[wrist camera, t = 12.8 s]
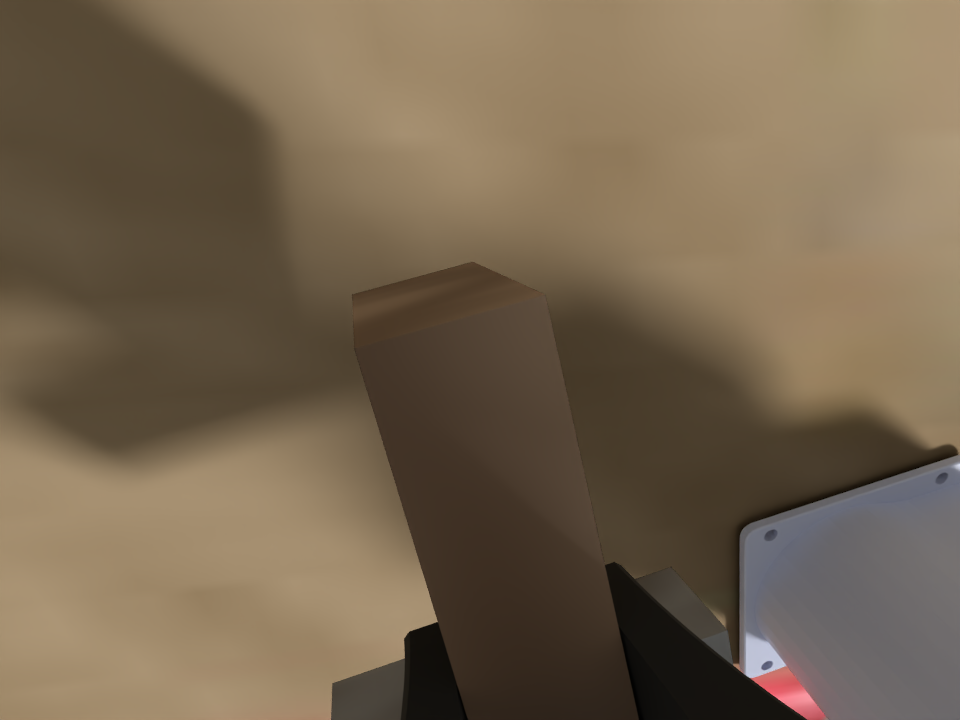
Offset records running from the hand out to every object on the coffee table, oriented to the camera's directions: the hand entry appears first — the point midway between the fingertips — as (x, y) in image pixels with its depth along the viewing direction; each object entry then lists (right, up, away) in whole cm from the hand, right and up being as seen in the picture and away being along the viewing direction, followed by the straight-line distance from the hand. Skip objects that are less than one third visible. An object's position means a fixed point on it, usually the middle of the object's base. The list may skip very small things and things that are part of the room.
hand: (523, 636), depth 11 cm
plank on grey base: (-1, +3, +2) cm, 4 cm away
